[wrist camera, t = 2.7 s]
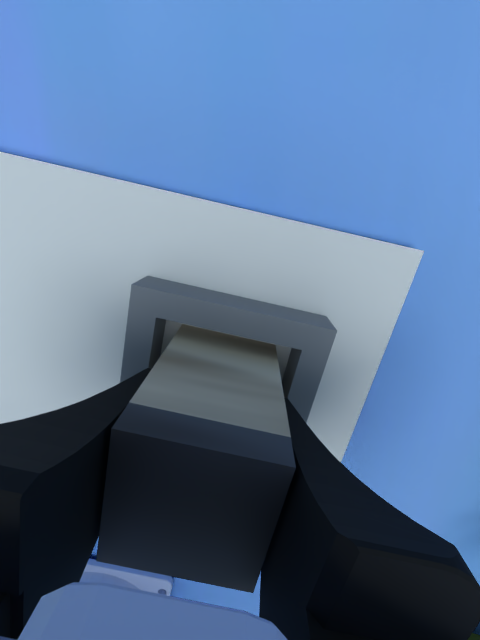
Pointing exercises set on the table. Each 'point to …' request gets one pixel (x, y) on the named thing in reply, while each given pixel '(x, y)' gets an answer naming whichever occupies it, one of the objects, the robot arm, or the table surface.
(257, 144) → the table surface
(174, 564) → the plug
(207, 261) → the panel
